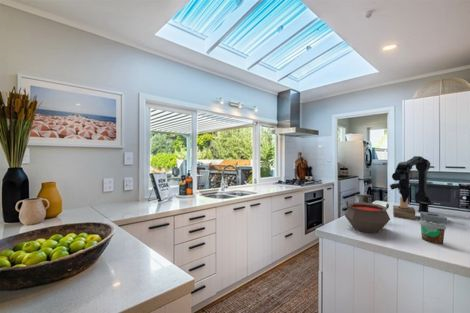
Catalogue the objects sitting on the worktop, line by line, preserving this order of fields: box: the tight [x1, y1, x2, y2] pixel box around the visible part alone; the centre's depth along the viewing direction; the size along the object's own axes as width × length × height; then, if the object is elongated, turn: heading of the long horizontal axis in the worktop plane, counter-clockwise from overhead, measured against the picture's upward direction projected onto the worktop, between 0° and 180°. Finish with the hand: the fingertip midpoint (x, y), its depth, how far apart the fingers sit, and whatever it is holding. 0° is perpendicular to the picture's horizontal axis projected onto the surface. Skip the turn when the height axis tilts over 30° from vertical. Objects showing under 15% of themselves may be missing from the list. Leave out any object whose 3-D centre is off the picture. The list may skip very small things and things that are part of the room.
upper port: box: [392, 204, 416, 221], centre depth 162 cm, size 12×12×6 cm
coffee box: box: [354, 193, 373, 204], centre depth 157 cm, size 9×6×16 cm
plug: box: [399, 196, 409, 208], centre depth 162 cm, size 4×4×7 cm
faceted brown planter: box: [344, 200, 391, 234], centre depth 135 cm, size 24×24×16 cm
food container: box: [418, 218, 447, 245], centre depth 117 cm, size 12×6×10 cm, turn 5°
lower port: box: [419, 212, 448, 225], centre depth 153 cm, size 12×12×4 cm
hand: (403, 201), depth 162 cm, fingers closed on plug, 4 cm apart
